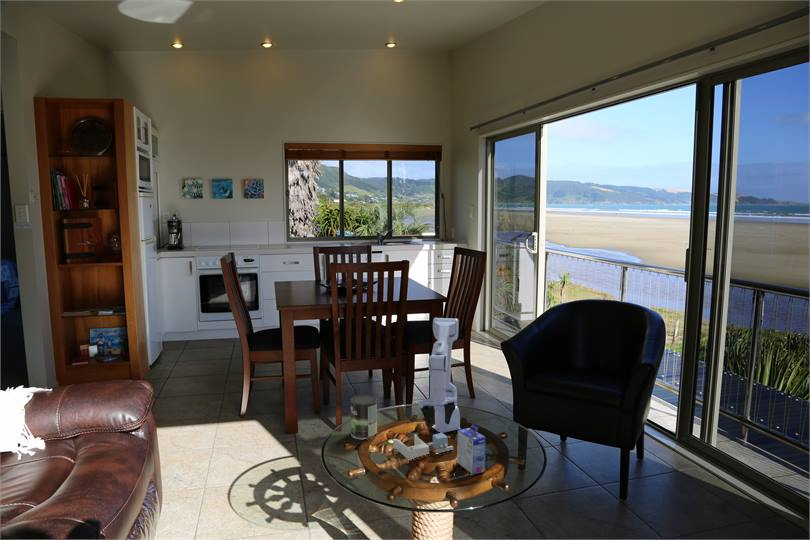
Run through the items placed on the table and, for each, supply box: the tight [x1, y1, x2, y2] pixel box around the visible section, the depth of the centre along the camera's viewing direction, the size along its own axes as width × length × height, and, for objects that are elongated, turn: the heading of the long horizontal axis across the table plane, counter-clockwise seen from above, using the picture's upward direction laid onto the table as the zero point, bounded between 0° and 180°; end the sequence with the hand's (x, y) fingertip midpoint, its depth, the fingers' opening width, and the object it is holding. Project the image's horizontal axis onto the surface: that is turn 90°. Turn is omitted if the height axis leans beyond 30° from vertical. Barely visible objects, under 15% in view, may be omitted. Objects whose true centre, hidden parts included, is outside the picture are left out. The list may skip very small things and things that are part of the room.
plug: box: [432, 432, 449, 449], centre depth 207 cm, size 4×5×5 cm
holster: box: [426, 441, 454, 453], centre depth 208 cm, size 7×7×2 cm
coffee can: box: [349, 394, 378, 441], centre depth 222 cm, size 10×10×14 cm
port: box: [392, 434, 430, 461], centre depth 206 cm, size 10×11×4 cm
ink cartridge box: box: [456, 424, 487, 475], centre depth 194 cm, size 10×6×14 cm, turn 27°
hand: (437, 424), depth 207 cm, fingers open, 7 cm apart
